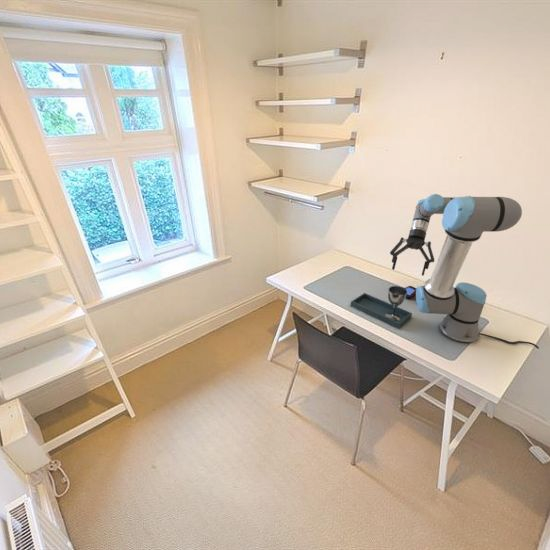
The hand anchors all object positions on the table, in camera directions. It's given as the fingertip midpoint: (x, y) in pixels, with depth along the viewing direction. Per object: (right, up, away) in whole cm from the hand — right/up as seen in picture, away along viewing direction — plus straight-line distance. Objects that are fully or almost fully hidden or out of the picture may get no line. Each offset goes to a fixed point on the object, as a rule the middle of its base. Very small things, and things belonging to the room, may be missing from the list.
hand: (407, 272), depth 151 cm
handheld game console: (+10, -12, +19) cm, 25 cm away
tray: (-12, -20, +5) cm, 24 cm away
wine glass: (-7, -22, +1) cm, 23 cm away
